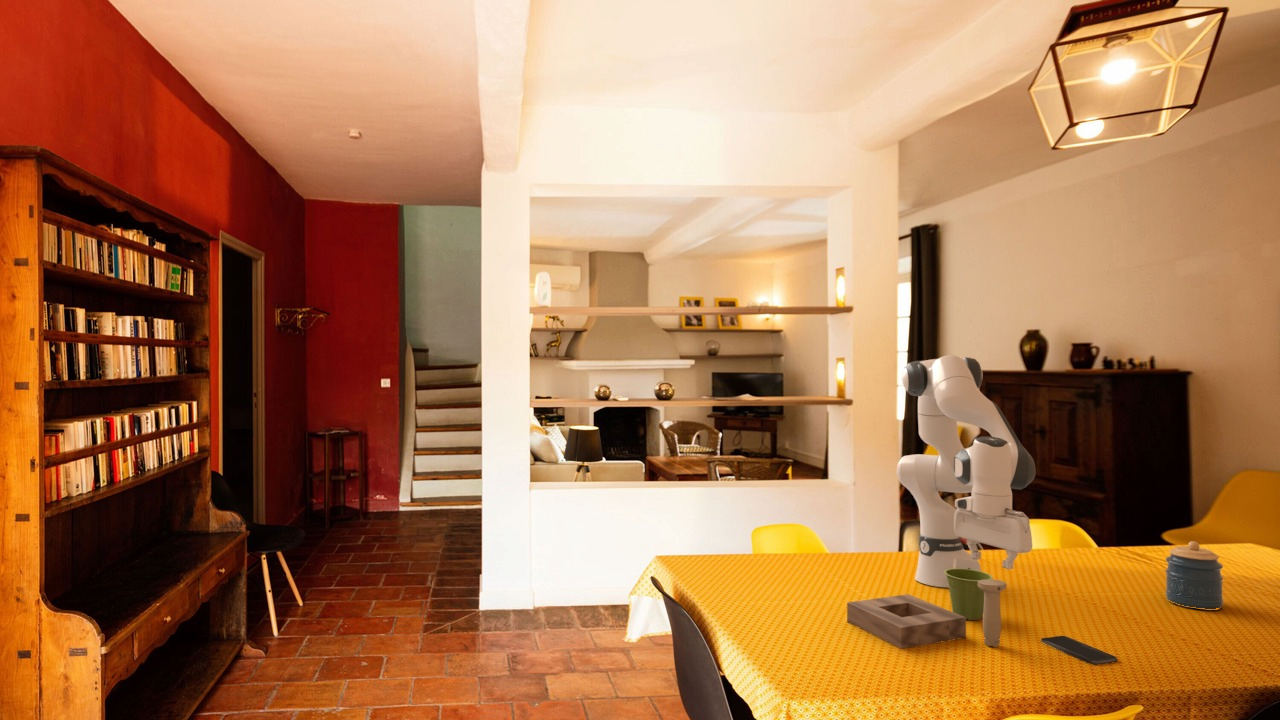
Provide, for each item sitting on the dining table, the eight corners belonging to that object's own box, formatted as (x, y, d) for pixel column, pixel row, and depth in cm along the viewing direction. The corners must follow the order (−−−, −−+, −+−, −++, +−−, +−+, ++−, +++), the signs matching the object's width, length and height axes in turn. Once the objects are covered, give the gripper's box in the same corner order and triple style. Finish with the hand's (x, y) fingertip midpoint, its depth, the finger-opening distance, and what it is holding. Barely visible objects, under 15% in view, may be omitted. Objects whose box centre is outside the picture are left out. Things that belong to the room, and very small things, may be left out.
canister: (1225, 603, 209) (1225, 541, 209) (1220, 615, 200) (1220, 549, 200) (1169, 594, 218) (1169, 534, 218) (1162, 604, 208) (1161, 541, 209)
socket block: (908, 612, 200) (908, 594, 200) (965, 637, 182) (965, 617, 182) (847, 621, 193) (847, 602, 193) (900, 649, 174) (900, 627, 174)
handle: (1010, 647, 175) (1010, 584, 175) (987, 650, 174) (987, 586, 174) (996, 640, 180) (996, 578, 180) (973, 642, 178) (973, 580, 178)
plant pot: (972, 626, 190) (972, 582, 190) (934, 613, 200) (934, 571, 200) (1002, 619, 195) (1002, 576, 195) (964, 606, 205) (964, 566, 206)
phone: (1092, 662, 165) (1038, 638, 179) (1092, 667, 165) (1038, 643, 179) (1120, 658, 167) (1064, 635, 182) (1120, 663, 167) (1064, 639, 182)
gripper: (1039, 512, 169) (1039, 573, 168) (968, 498, 188) (968, 553, 187) (1018, 513, 166) (1018, 575, 166) (949, 499, 185) (949, 554, 185)
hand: (991, 563), depth 177 cm, fingers open, 8 cm apart
